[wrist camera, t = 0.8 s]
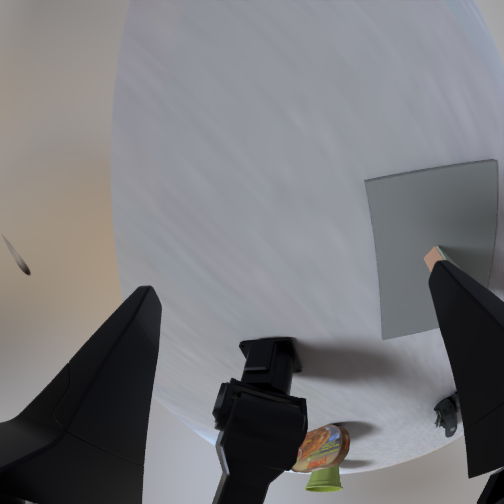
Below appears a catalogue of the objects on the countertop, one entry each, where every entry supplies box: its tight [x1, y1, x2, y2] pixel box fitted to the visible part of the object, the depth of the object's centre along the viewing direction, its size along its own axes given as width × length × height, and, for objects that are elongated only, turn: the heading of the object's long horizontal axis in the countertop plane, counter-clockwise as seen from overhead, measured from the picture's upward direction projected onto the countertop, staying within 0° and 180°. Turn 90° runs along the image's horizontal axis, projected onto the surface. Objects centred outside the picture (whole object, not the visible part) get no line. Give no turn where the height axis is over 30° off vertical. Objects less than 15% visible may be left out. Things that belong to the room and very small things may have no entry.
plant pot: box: [305, 464, 343, 492], centre depth 50 cm, size 9×9×9 cm
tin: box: [291, 424, 350, 473], centre depth 40 cm, size 15×3×8 cm, turn 149°
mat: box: [364, 159, 498, 340], centre depth 22 cm, size 18×13×1 cm
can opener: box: [434, 394, 461, 437], centre depth 33 cm, size 18×7×6 cm, turn 31°
